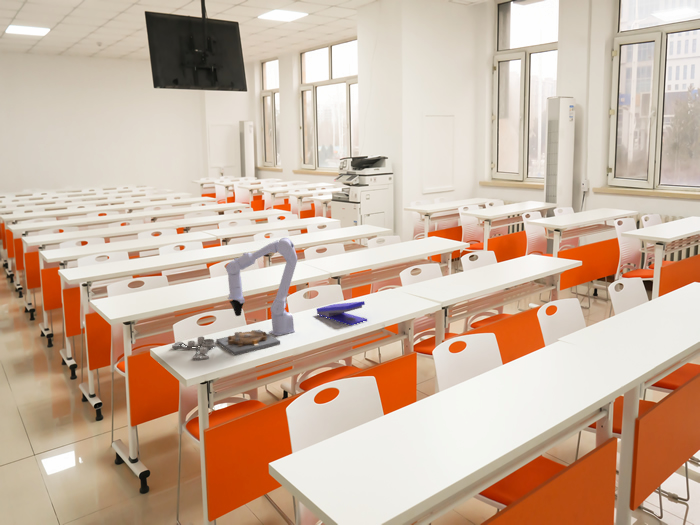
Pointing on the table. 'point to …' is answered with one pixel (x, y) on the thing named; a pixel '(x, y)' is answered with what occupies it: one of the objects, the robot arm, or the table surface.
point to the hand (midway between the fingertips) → (238, 315)
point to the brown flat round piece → (247, 338)
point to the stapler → (342, 312)
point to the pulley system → (203, 350)
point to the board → (248, 348)
